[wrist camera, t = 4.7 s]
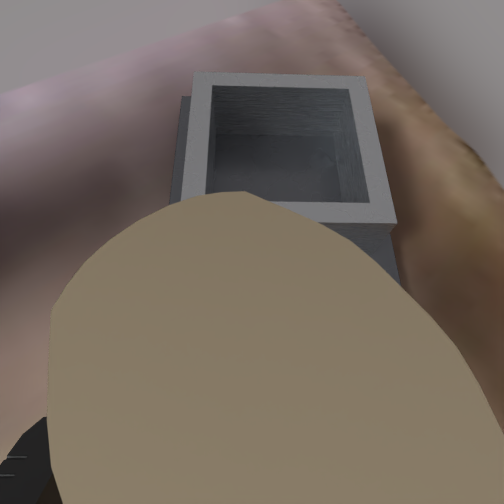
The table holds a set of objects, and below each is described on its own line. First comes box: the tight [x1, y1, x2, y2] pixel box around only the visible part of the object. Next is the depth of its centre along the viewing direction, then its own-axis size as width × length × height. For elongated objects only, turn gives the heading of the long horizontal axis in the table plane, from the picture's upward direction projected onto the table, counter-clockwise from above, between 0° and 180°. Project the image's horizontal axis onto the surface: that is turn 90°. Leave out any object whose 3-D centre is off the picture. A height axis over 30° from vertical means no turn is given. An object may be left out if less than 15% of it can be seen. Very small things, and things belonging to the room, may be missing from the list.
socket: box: [169, 72, 401, 286], centre depth 22 cm, size 14×16×5 cm
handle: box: [47, 191, 504, 504], centre depth 11 cm, size 5×6×15 cm
